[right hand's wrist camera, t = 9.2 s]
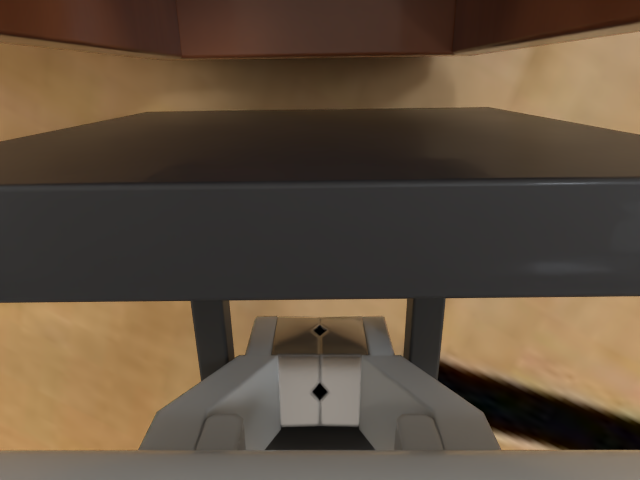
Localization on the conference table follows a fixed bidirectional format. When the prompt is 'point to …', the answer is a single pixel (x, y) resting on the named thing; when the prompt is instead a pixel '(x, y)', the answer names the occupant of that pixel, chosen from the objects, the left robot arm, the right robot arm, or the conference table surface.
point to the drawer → (317, 176)
